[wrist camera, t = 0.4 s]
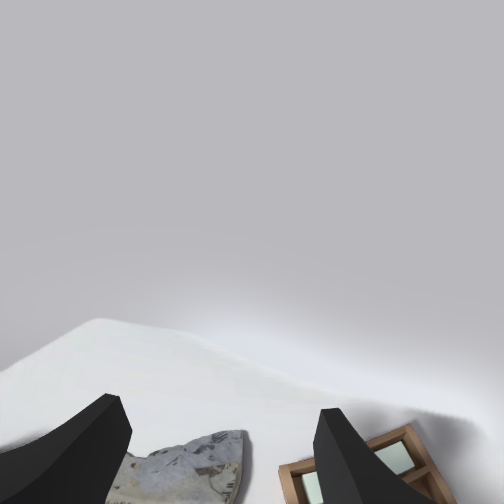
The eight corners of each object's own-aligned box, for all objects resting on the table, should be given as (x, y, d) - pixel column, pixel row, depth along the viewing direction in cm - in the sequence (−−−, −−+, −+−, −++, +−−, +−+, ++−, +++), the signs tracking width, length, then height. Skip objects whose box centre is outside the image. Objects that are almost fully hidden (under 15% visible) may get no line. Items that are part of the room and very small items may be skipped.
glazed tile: (407, 473, 17) (414, 465, 16) (309, 509, 16) (311, 505, 15) (394, 449, 20) (400, 441, 19) (301, 481, 19) (302, 475, 18)
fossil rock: (75, 524, 12) (63, 518, 11) (103, 427, 26) (95, 416, 25) (248, 555, 12) (246, 554, 11) (243, 434, 26) (240, 424, 25)
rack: (445, 517, 11) (460, 509, 9) (306, 576, 9) (309, 577, 8) (399, 434, 22) (408, 420, 21) (278, 472, 21) (278, 462, 20)
